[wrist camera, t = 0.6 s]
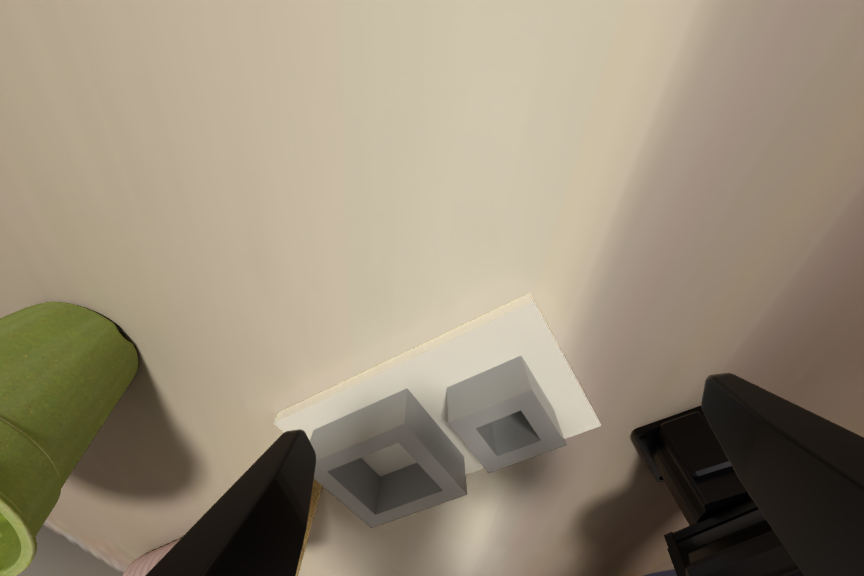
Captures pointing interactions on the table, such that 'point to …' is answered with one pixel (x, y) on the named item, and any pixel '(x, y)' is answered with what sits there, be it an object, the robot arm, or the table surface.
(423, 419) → the fitting board
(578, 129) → the table surface
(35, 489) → the plant pot
